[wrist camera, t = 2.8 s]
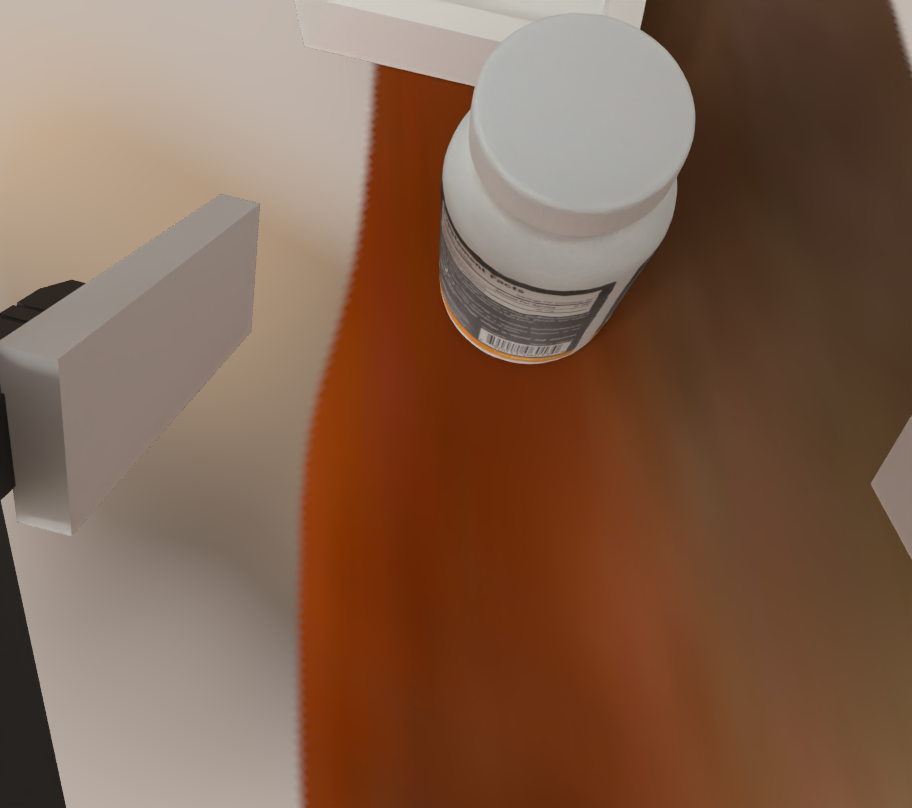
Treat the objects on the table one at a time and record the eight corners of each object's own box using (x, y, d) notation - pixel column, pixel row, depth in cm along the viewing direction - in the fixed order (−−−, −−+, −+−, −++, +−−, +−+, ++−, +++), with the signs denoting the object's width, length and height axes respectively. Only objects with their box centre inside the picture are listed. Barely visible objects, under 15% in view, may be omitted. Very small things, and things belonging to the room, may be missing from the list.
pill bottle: (526, 177, 27) (584, -60, 17) (646, 294, 26) (780, 115, 16) (402, 281, 26) (389, 92, 16) (523, 407, 25) (587, 288, 15)
